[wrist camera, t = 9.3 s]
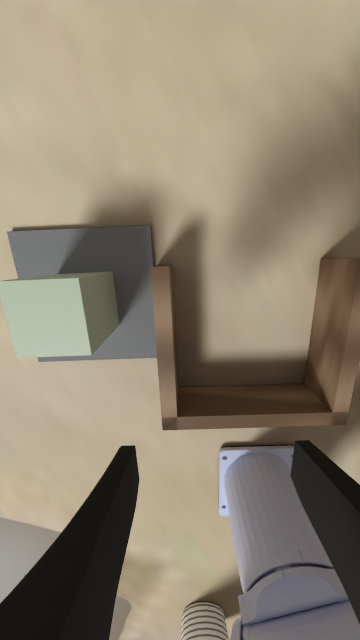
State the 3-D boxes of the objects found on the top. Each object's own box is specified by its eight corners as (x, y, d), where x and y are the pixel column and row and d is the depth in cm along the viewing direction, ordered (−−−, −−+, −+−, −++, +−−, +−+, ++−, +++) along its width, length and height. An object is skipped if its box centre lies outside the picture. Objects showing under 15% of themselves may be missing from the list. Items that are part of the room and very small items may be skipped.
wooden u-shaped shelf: (315, 393, 21) (345, 424, 17) (166, 398, 21) (162, 430, 17) (335, 257, 17) (380, 257, 13) (157, 265, 17) (150, 267, 14)
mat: (160, 355, 20) (159, 357, 19) (41, 359, 20) (38, 361, 19) (150, 225, 17) (149, 225, 16) (11, 232, 17) (6, 231, 16)
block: (119, 324, 18) (91, 355, 13) (67, 327, 19) (16, 357, 13) (112, 271, 17) (78, 278, 11) (57, 273, 17) (-5, 281, 12)
